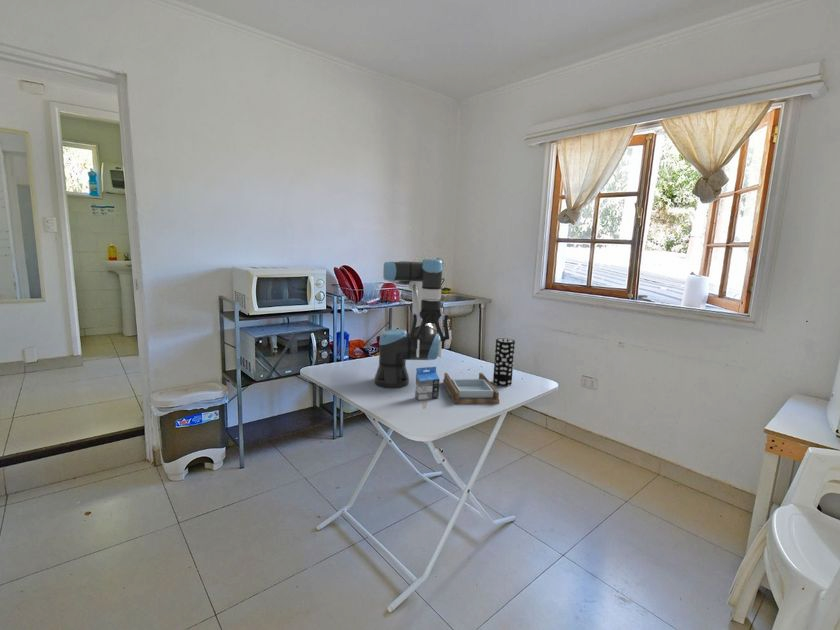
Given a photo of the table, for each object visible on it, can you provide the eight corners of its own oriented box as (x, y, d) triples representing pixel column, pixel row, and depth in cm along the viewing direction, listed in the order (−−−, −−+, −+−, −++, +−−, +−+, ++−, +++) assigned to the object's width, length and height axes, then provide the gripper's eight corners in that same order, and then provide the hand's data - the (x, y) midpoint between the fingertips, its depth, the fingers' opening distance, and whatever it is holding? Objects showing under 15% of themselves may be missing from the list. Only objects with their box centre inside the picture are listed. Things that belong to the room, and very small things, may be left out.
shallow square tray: (458, 398, 161) (459, 391, 160) (451, 386, 175) (452, 379, 174) (493, 398, 163) (493, 390, 162) (483, 385, 176) (484, 379, 176)
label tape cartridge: (418, 401, 161) (419, 371, 159) (414, 397, 164) (415, 368, 162) (438, 398, 164) (440, 369, 162) (434, 395, 168) (436, 366, 166)
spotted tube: (502, 387, 180) (505, 343, 176) (489, 381, 187) (492, 339, 183) (515, 384, 184) (519, 341, 181) (502, 379, 191) (505, 337, 188)
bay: (454, 404, 159) (455, 393, 158) (443, 382, 184) (443, 372, 183) (499, 403, 161) (500, 392, 161) (482, 382, 186) (482, 372, 185)
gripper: (455, 298, 162) (452, 354, 166) (403, 297, 160) (401, 353, 164) (459, 301, 155) (456, 359, 159) (404, 300, 152) (403, 359, 156)
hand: (428, 356), depth 161 cm, fingers open, 8 cm apart
